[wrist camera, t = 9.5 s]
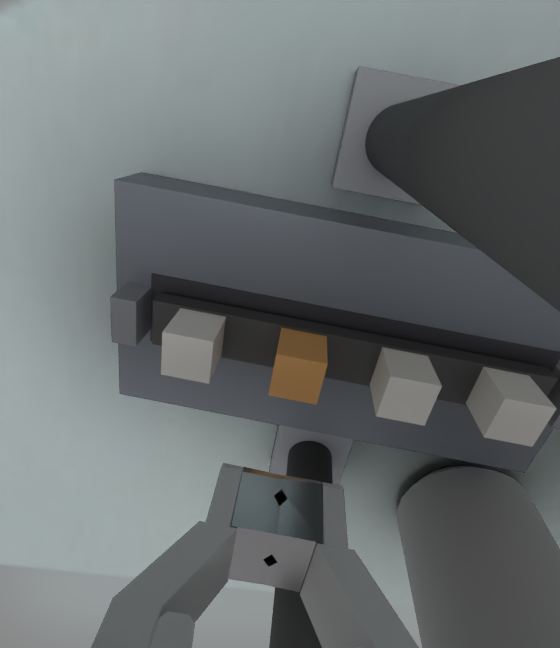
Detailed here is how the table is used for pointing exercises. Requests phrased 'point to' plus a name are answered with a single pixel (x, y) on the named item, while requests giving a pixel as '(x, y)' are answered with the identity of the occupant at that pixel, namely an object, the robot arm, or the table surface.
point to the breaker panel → (320, 306)
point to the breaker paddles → (354, 366)
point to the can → (479, 562)
